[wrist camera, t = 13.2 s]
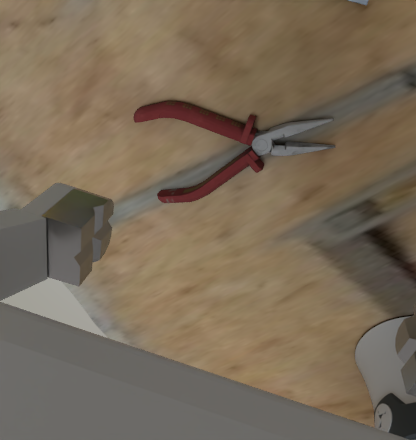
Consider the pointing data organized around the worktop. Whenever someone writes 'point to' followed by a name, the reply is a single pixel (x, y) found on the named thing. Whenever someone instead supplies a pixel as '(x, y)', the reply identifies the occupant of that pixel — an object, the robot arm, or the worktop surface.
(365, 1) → the shaft block
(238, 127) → the pliers
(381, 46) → the worktop surface
